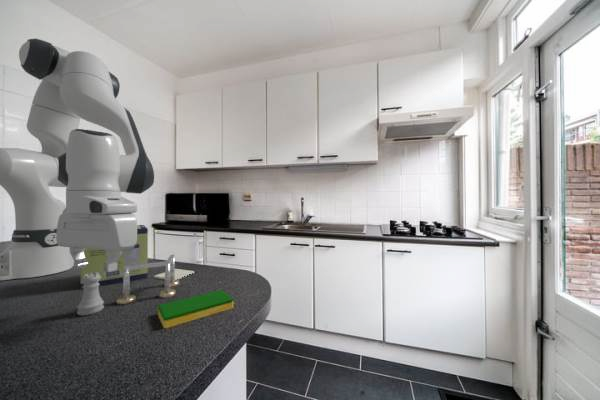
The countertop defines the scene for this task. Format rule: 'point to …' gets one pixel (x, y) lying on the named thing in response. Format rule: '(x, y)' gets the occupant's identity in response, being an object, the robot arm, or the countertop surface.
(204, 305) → the dish sponge
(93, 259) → the protein box
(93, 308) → the rook chess piece
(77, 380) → the countertop surface
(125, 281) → the angled post rail
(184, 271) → the coaster pad
